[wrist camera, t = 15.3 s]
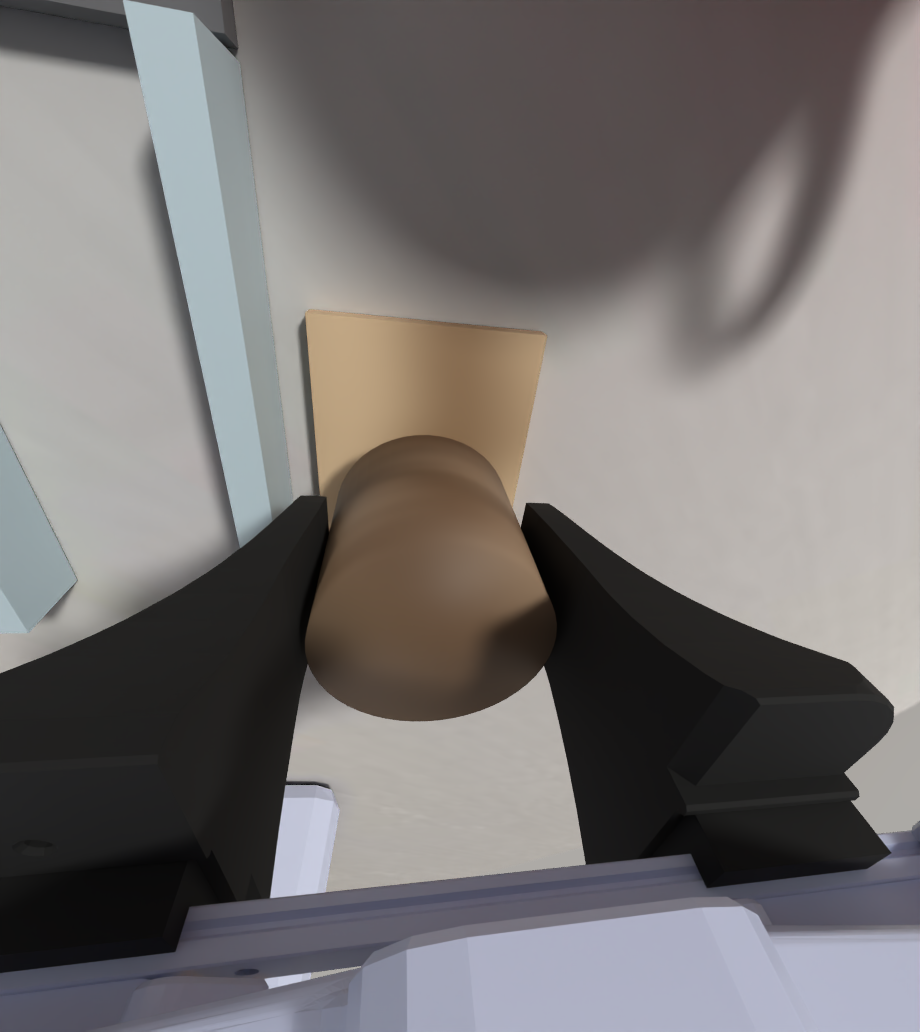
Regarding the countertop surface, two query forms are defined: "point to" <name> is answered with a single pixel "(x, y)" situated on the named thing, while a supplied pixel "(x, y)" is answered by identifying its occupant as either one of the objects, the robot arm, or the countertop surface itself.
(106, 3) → the bar
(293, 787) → the soap bottle
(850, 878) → the robot arm
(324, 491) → the mat
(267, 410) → the channel
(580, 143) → the countertop surface
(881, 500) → the countertop surface
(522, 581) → the brown cylinder
